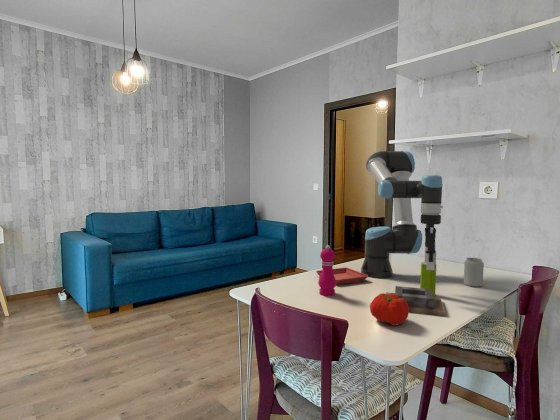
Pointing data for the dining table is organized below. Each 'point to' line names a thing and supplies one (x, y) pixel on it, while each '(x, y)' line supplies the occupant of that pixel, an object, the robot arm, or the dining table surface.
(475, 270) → the can
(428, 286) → the vape
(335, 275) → the plant saucer
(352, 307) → the dining table surface
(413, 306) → the charging dock
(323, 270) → the pepper mill
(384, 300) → the tomato
